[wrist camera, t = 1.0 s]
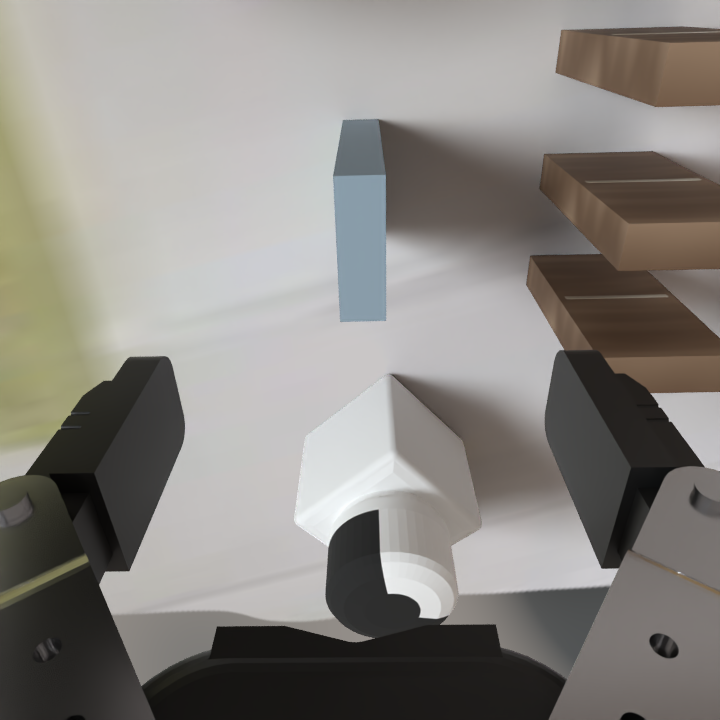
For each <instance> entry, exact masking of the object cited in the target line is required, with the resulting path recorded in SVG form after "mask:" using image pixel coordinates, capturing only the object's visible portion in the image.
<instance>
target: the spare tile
mask: <svg viewBox="0 0 720 720" xmlns="http://www.w3.org/2000/svg"><path fill="white" fill-rule="evenodd" d="M333 182H334V202H335V223H336V243H337V264H338V284H339V305H340V322H351V321H386V172H385V165H384V157H383V150H382V142H381V135H380V127H379V120H378V119H370V120H343V123H342V129H341V135H340V140H339V146H338V152H337V157H336V163H335V169H334V174H333Z"/></svg>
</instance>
